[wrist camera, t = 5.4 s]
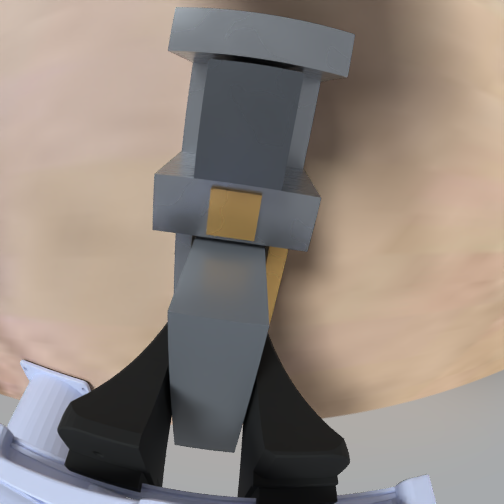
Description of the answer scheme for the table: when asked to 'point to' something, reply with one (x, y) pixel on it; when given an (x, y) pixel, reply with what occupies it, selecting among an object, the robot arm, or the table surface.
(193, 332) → the panel
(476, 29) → the table surface
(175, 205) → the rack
